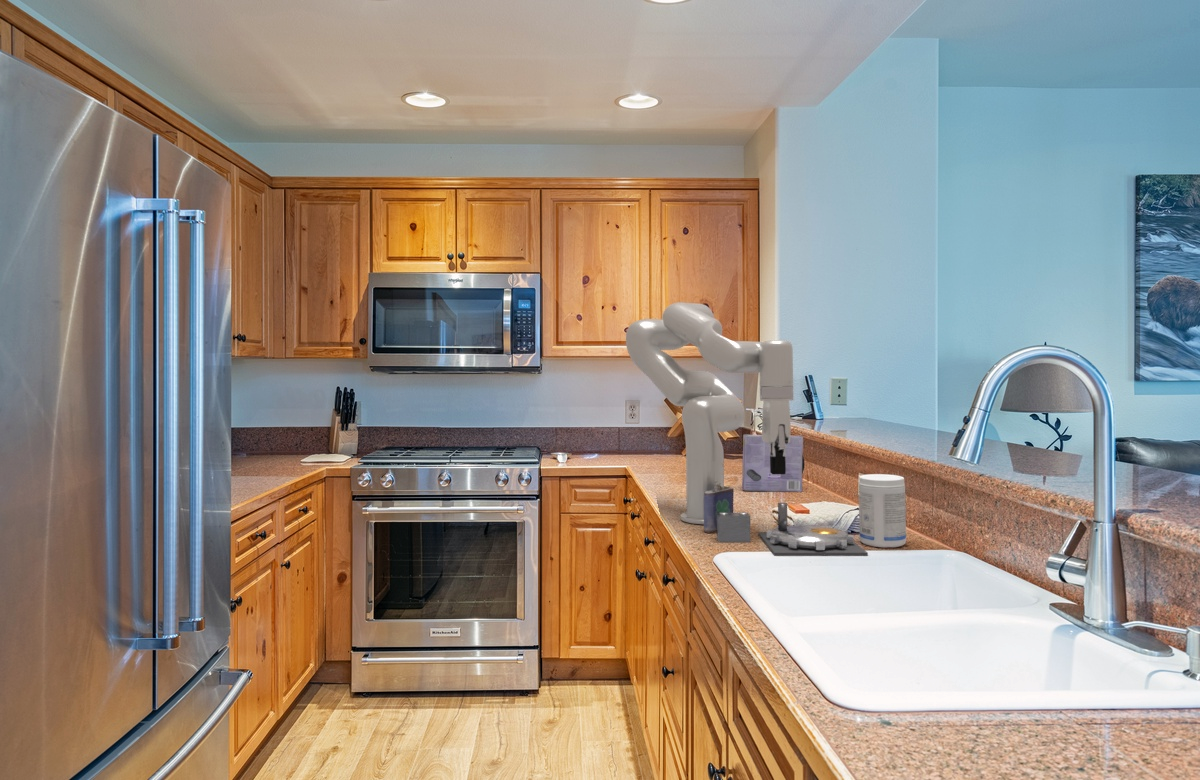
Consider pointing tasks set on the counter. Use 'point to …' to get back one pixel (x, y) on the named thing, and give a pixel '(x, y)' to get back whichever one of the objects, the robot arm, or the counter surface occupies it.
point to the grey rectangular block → (733, 527)
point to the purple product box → (759, 466)
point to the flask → (716, 505)
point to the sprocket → (807, 534)
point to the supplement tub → (882, 510)
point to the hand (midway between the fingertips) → (777, 473)
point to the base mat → (812, 549)
